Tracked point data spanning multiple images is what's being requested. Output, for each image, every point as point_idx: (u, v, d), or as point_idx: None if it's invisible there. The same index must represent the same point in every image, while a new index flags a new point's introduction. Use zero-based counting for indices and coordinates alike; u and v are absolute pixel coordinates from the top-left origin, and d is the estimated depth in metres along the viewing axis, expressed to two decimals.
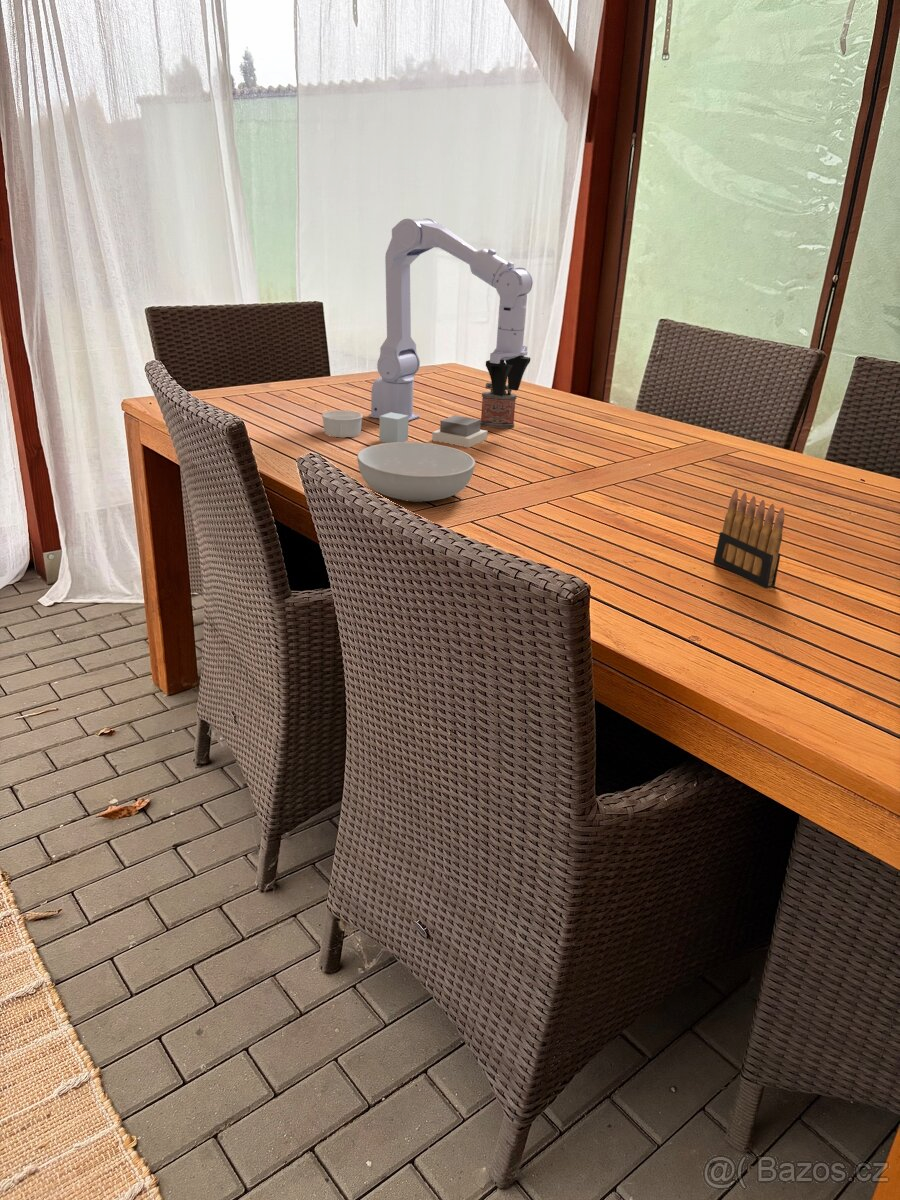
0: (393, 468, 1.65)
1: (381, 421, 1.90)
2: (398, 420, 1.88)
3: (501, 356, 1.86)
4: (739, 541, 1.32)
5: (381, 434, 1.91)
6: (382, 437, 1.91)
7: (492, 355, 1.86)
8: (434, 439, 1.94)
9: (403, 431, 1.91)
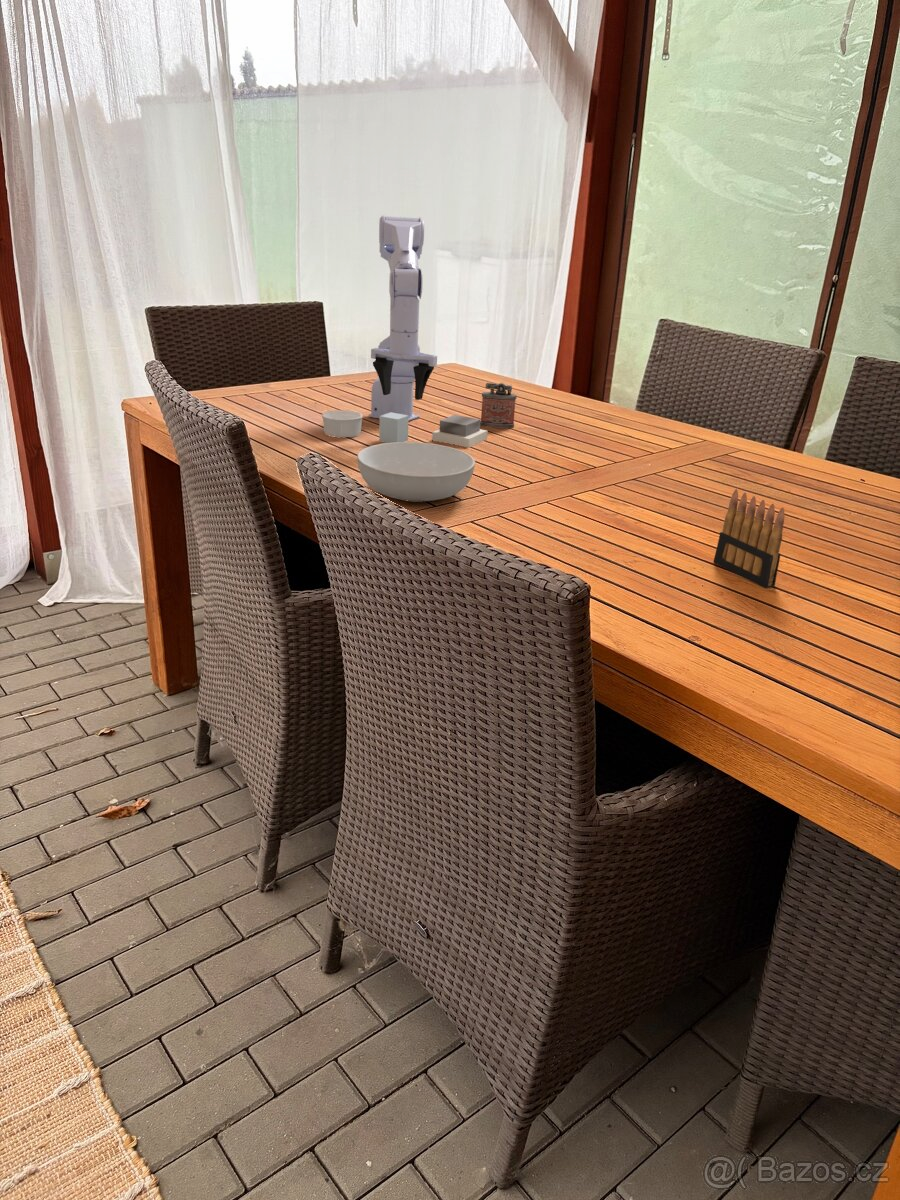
0: (393, 468, 1.65)
1: (381, 421, 1.90)
2: (398, 420, 1.88)
3: (375, 352, 1.86)
4: (739, 541, 1.32)
5: (381, 434, 1.91)
6: (382, 437, 1.91)
7: None
8: (434, 439, 1.94)
9: (403, 431, 1.91)
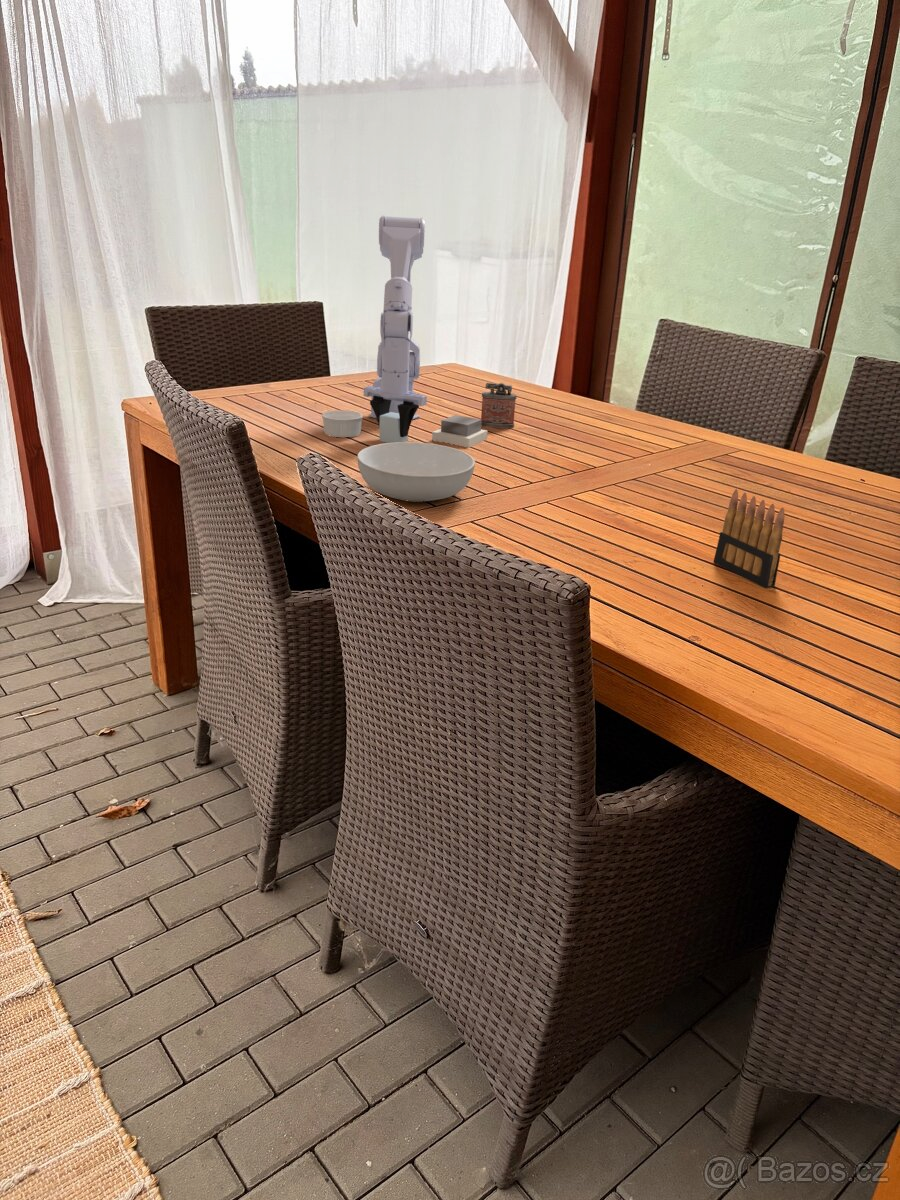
0: (393, 468, 1.65)
1: (381, 421, 1.90)
2: (398, 420, 1.88)
3: (368, 390, 1.90)
4: (739, 541, 1.32)
5: (381, 434, 1.91)
6: (382, 437, 1.91)
7: None
8: (434, 439, 1.94)
9: None
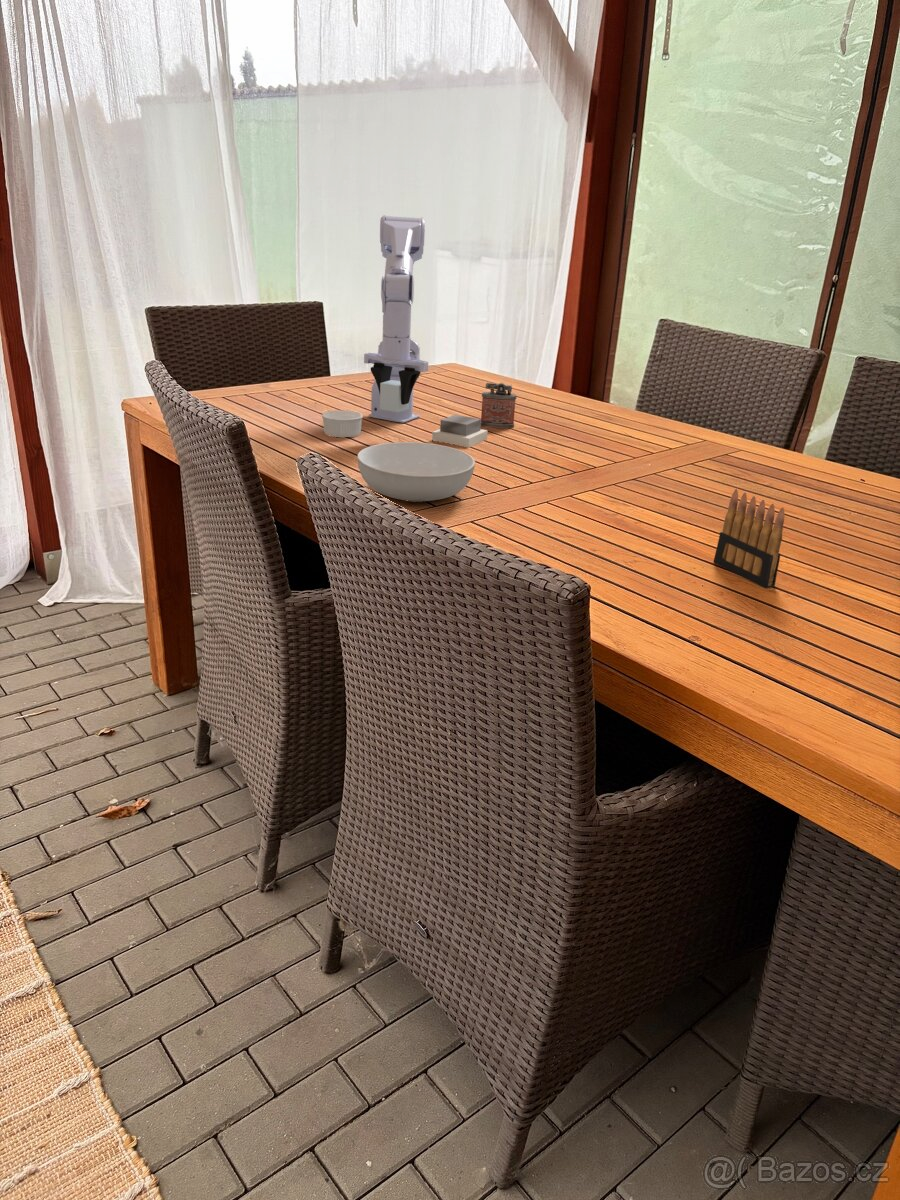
0: (393, 468, 1.65)
1: (382, 388, 1.87)
2: (399, 387, 1.85)
3: (368, 357, 1.87)
4: (739, 541, 1.32)
5: (381, 402, 1.88)
6: (383, 405, 1.88)
7: None
8: (434, 439, 1.94)
9: None
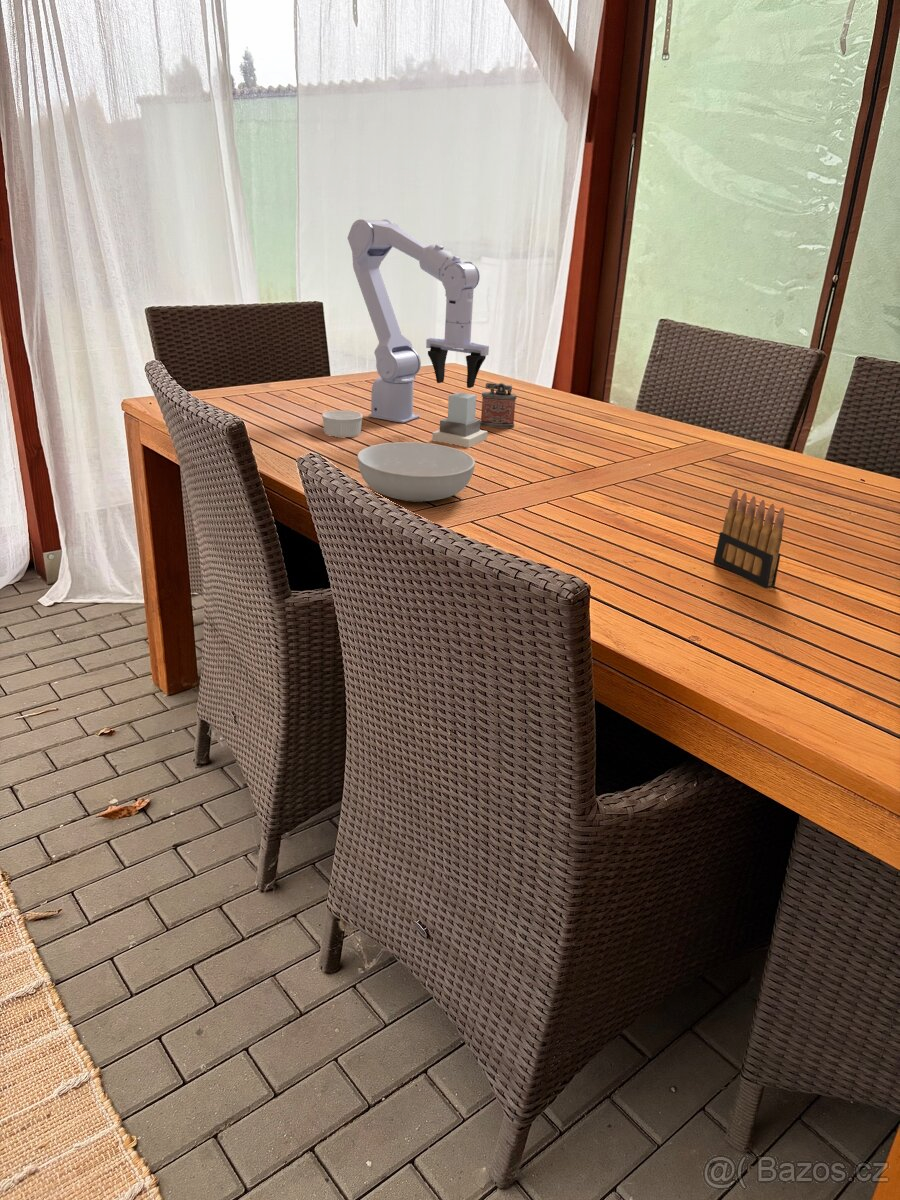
0: (393, 468, 1.65)
1: (450, 401, 1.91)
2: (468, 399, 1.90)
3: (430, 342, 1.97)
4: (739, 541, 1.32)
5: (449, 414, 1.92)
6: (451, 417, 1.93)
7: None
8: (434, 440, 1.94)
9: (471, 410, 1.93)
